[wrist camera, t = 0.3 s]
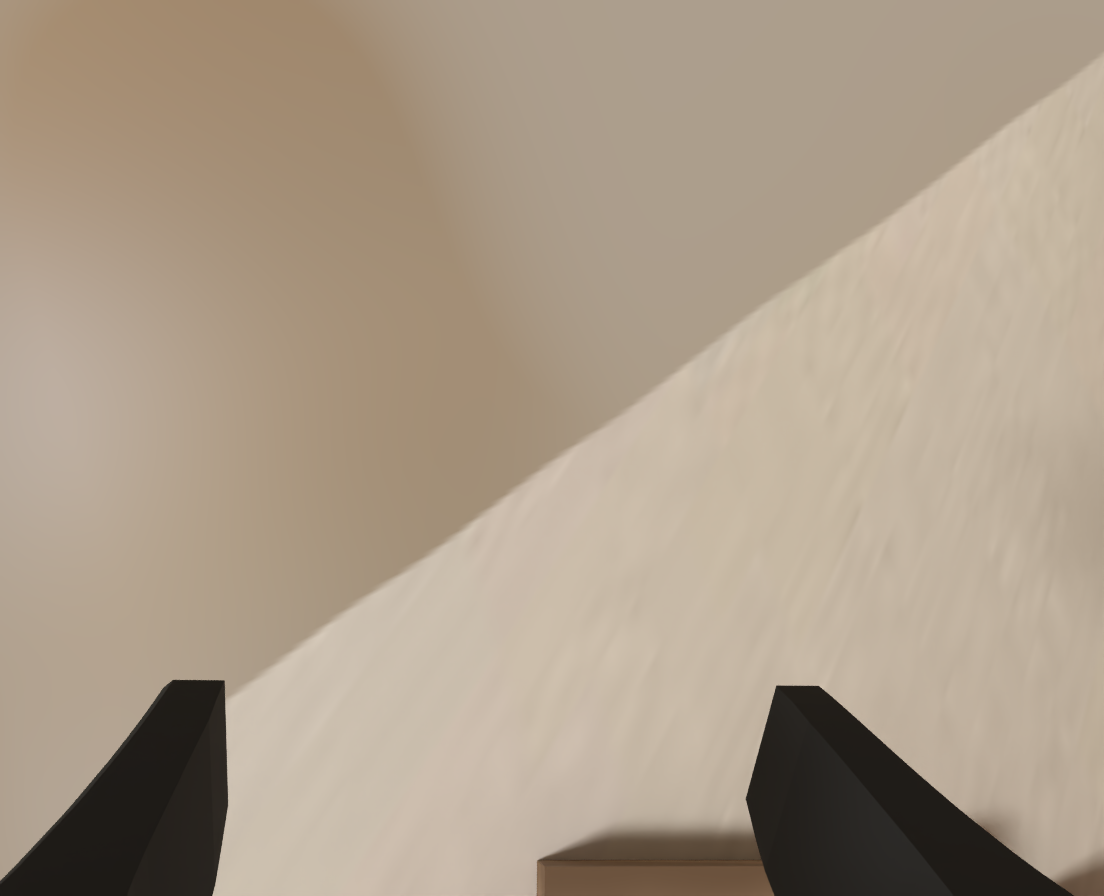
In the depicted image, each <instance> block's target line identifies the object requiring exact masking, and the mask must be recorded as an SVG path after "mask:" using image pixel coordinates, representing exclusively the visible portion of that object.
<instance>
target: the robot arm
mask: <svg viewBox="0 0 1104 896" xmlns="http://www.w3.org/2000/svg"><path fill="white" fill-rule="evenodd" d="M746 801H747V805H748V809H749V813H750V817H751V821H752V826H753V830H754V834H755V838H756V841H757V845H758V848H759V852H760V856H761V859H762V863H763V866H764V870H765V873H766V875H767V878H768V881H769V883H770V886H771V888H772V891H773V893H774V896H1074V895H1072V894H1071V893H1069V892H1068V891H1066V890H1065V889H1063V888H1062V887H1061V886H1059V885H1058V884H1056V883H1055V882H1053V881H1052V880H1051V879H1049V878H1048V877H1046V876H1045V875H1043V874H1042V873H1040V872H1039V871H1038V870H1036V869H1035V868H1034V867H1032V866H1031V865H1030V864H1028V863H1027V862H1025V861H1024V860H1023V859H1021V858H1020V857H1019V856H1017V855H1016V854H1015V853H1013V852H1012V851H1011V850H1010V849H1008V848H1007V847H1006V846H1004V845H1003V844H1002V843H1001V842H999V841H998V840H997V839H996V838H994V837H993V836H992V835H991V834H989V833H988V832H987V831H986V830H984V829H983V828H982V827H980V826H979V825H978V824H977V823H975V822H974V821H973V820H972V819H970V818H969V817H968V816H967V815H966V814H964V813H963V812H962V811H961V810H960V809H958V808H957V807H956V806H955V805H954V804H952V803H951V802H950V801H949V800H948V799H946V798H945V797H944V796H943V795H942V794H941V793H939V792H938V791H937V790H936V789H935V788H934V787H932V786H931V785H930V784H929V783H928V782H927V781H926V780H924V779H923V778H922V777H921V776H920V775H919V774H918V773H916V772H915V771H914V770H913V769H912V768H911V767H910V766H908V765H907V764H906V763H905V762H904V761H903V760H902V759H901V758H899V757H898V756H897V755H896V754H895V753H894V752H893V751H892V750H891V749H889V748H888V747H887V746H886V745H885V744H884V743H883V742H882V741H881V740H880V739H878V738H877V737H876V736H875V735H874V734H873V733H872V732H871V731H870V730H868V729H867V728H866V727H865V726H864V725H863V724H862V723H861V722H860V721H858V720H857V719H856V718H855V717H854V716H853V715H852V714H851V713H850V712H849V711H847V710H846V709H845V708H844V707H843V706H842V705H841V704H839V703H838V702H837V701H836V700H835V699H834V698H833V697H831V696H830V695H829V694H828V693H827V692H825V691H824V690H823V689H822V688H821V687H819V686H776V689H775V693H774V697H773V700H772V704H771V708H770V711H769V715H768V719H767V723H766V726H765V730H764V734H763V737H762V741H761V745H760V748H759V752H758V756H757V759H756V763H755V767H754V771H753V774H752V778H751V782H750V785H749V789H748V793H747V796H746ZM227 808H228V785H227V750H226V715H225V681H221V680H220V681H219V680H172V681H171V682H170V683H169V684H167V685H166V686H165V687H164V688H163V689H162V691H161V692H160V694H159V695H158V696H157V698H156V699H155V701H154V702H153V704H152V705H151V706H150V708H149V709H148V711H147V712H146V713H145V715H144V716H143V717H142V719H141V720H140V722H139V723H138V724H137V725H136V727H135V728H134V730H133V731H132V732H131V733H130V735H129V736H128V737H127V739H126V740H125V741H124V742H123V744H122V745H121V746H120V748H119V749H118V750H117V751H116V753H115V754H114V755H113V756H112V758H111V759H110V760H109V762H108V763H107V764H106V765H105V766H104V768H103V769H102V770H101V771H100V772H99V773H98V774H97V776H96V777H95V778H94V779H93V780H92V782H91V783H90V784H89V785H88V786H87V788H86V789H85V790H84V791H83V792H82V794H81V795H80V796H79V797H78V798H77V799H76V801H75V802H74V803H73V804H72V805H71V806H70V808H69V809H68V810H67V811H66V812H65V813H64V815H62V817H61V818H60V819H59V820H58V821H57V822H56V823H55V824H54V825H53V826H52V827H51V828H50V830H48V832H47V833H46V834H45V835H44V836H43V837H42V838H41V839H40V840H39V841H38V842H37V843H36V844H35V845H34V846H33V848H32V849H31V850H30V851H29V852H28V853H27V854H26V855H25V856H24V857H23V858H22V859H21V860H20V862H19V863H18V864H17V865H16V866H15V867H14V868H13V869H12V870H11V871H10V872H9V873H8V874H7V875H6V876H5V877H4V878H3V879H2V880H1V881H0V896H212V894H213V891H214V887H215V882H216V876H217V870H218V864H219V858H220V852H221V846H222V840H223V834H224V827H225V821H226V814H227Z"/></svg>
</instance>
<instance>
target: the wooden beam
mask: <svg viewBox="0 0 1104 896" xmlns="http://www.w3.org/2000/svg"><path fill="white" fill-rule="evenodd" d="M537 896H774V893H773V891H772V888H771V886H770V883H769V881H768V878H767V875H766V873H765V870H764V866H763V863H762V860H537Z"/></svg>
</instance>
